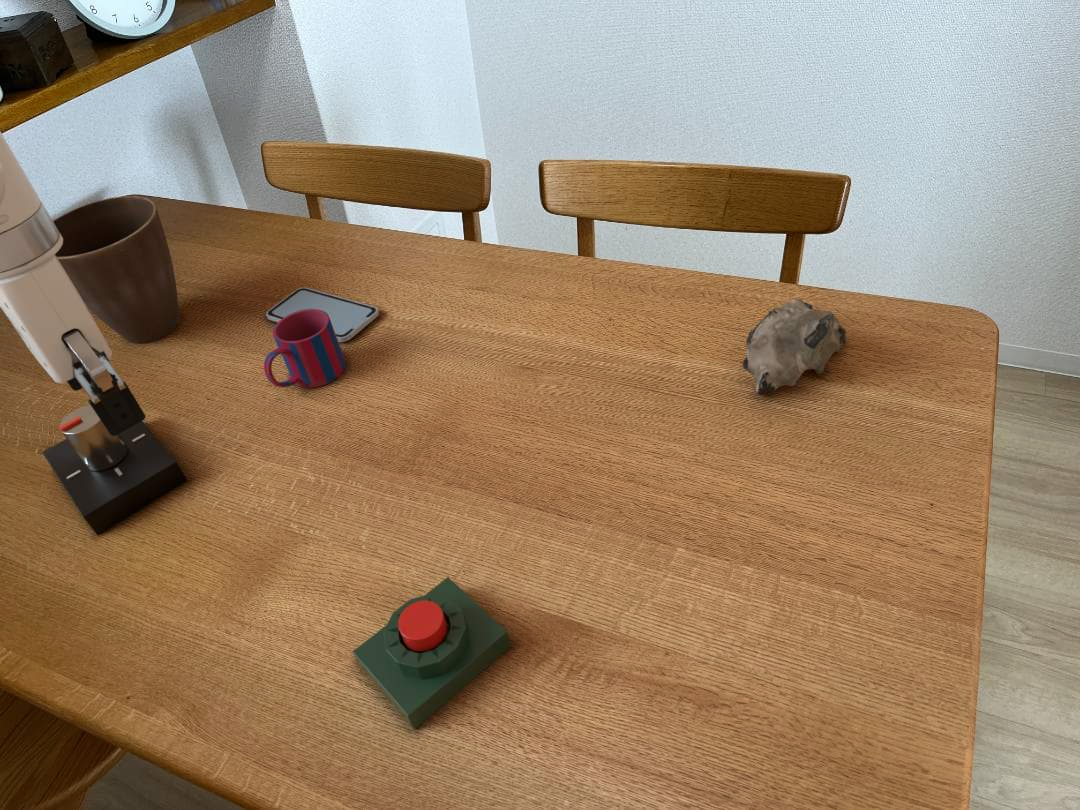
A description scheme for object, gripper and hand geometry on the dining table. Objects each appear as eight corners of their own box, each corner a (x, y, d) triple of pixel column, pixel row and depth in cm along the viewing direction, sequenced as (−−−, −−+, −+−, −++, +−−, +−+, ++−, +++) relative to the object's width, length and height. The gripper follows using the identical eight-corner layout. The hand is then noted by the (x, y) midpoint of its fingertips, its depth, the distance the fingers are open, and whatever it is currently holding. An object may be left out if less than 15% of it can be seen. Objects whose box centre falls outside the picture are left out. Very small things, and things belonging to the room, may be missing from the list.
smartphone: (301, 285, 113) (381, 308, 105) (303, 291, 113) (382, 313, 106) (262, 314, 108) (343, 339, 101) (264, 319, 109) (345, 345, 102)
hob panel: (188, 480, 87) (175, 460, 85) (97, 535, 82) (82, 515, 80) (140, 423, 95) (127, 403, 93) (55, 470, 91) (40, 450, 89)
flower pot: (184, 357, 105) (127, 249, 94) (76, 367, 106) (8, 262, 95) (220, 292, 116) (173, 190, 105) (122, 302, 117) (66, 202, 107)
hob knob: (118, 436, 89) (92, 397, 85) (134, 453, 87) (108, 413, 83) (79, 459, 87) (51, 419, 83) (95, 477, 84) (67, 437, 81)
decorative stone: (770, 309, 95) (796, 242, 87) (845, 340, 92) (879, 274, 84) (718, 396, 86) (743, 330, 78) (800, 434, 83) (834, 370, 75)
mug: (357, 363, 99) (341, 318, 94) (294, 411, 93) (273, 365, 89) (322, 347, 102) (304, 302, 98) (259, 392, 97) (238, 347, 92)
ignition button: (420, 660, 63) (415, 648, 61) (394, 632, 65) (389, 620, 64) (456, 630, 64) (452, 618, 63) (430, 604, 66) (425, 592, 65)
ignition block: (414, 730, 62) (402, 704, 60) (359, 665, 67) (345, 639, 64) (511, 646, 67) (503, 618, 64) (452, 591, 72) (443, 563, 69)
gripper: (-73, 229, 66) (38, 387, 78) (-16, 299, 56) (103, 470, 67) (20, 192, 70) (113, 348, 81) (89, 252, 59) (185, 421, 71)
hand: (108, 403), depth 74 cm, fingers open, 9 cm apart
